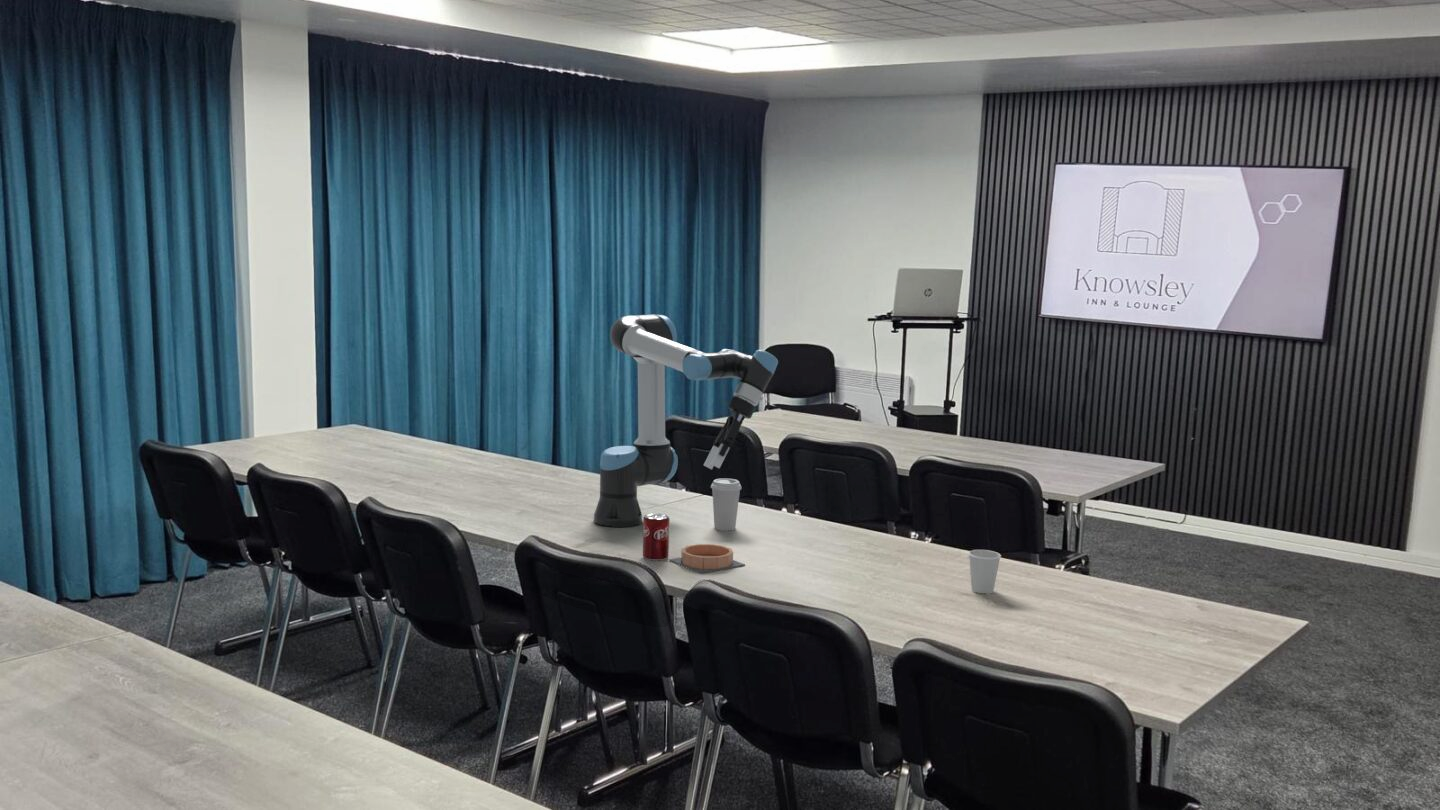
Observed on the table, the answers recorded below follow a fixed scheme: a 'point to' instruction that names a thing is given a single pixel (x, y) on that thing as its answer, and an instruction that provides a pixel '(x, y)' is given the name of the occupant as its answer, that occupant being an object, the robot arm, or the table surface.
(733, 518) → the coffee cup
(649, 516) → the soda can
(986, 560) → the dixie cup
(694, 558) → the bowl
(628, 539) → the table surface
